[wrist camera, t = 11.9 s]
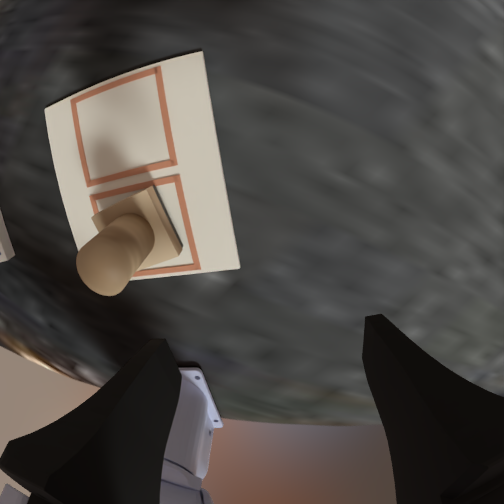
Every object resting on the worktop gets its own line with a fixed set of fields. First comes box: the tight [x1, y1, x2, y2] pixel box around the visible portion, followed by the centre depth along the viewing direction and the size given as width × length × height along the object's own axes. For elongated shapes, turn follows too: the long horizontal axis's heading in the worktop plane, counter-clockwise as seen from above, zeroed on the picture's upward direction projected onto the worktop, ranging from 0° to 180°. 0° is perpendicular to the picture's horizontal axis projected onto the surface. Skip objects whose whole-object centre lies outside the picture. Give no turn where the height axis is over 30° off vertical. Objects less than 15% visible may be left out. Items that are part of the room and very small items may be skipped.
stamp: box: [76, 185, 183, 296], centre depth 16 cm, size 4×4×6 cm
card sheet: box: [45, 51, 241, 280], centre depth 18 cm, size 14×12×1 cm
